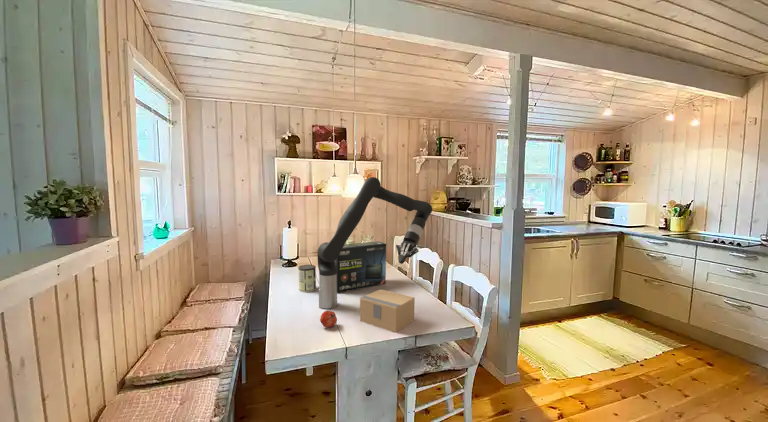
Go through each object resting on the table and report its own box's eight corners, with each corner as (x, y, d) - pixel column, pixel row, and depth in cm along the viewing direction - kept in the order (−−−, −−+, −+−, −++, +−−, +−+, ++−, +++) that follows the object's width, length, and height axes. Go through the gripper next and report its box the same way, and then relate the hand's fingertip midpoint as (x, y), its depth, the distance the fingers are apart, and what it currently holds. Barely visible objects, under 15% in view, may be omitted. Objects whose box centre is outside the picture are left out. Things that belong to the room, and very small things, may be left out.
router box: (336, 294, 190) (336, 248, 188) (328, 289, 200) (328, 245, 197) (387, 283, 210) (387, 242, 208) (378, 279, 219) (378, 240, 217)
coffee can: (307, 285, 205) (307, 263, 204) (319, 288, 200) (319, 266, 199) (295, 290, 197) (294, 267, 196) (307, 293, 191) (306, 269, 190)
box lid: (380, 291, 165) (380, 289, 165) (414, 299, 154) (414, 297, 154) (360, 300, 152) (360, 297, 152) (396, 309, 141) (396, 307, 140)
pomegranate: (317, 331, 147) (325, 324, 140) (315, 315, 151) (323, 308, 144) (333, 329, 151) (341, 322, 144) (330, 314, 154) (338, 306, 148)
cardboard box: (380, 310, 166) (380, 291, 165) (414, 320, 154) (414, 299, 154) (359, 321, 153) (359, 300, 152) (395, 332, 141) (395, 310, 140)
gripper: (399, 229, 171) (386, 256, 162) (422, 231, 163) (409, 260, 154) (405, 238, 176) (392, 265, 167) (427, 240, 168) (414, 269, 159)
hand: (400, 262), depth 161 cm, fingers closed
